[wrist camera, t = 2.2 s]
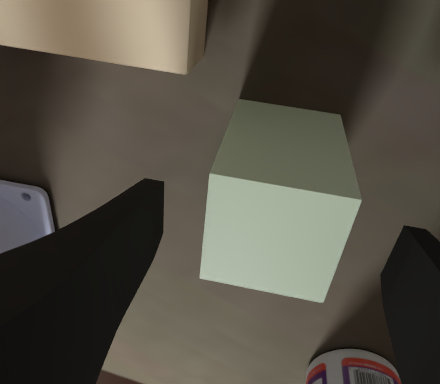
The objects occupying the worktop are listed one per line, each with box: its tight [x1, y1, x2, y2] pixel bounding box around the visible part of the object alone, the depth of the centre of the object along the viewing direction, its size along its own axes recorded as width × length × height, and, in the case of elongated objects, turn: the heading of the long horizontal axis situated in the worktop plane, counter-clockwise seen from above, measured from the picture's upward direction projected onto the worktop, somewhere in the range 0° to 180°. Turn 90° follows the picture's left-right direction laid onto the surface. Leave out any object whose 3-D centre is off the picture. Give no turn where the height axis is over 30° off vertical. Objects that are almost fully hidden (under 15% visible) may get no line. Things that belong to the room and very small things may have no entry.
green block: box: [200, 99, 362, 303], centre depth 13 cm, size 4×4×6 cm
